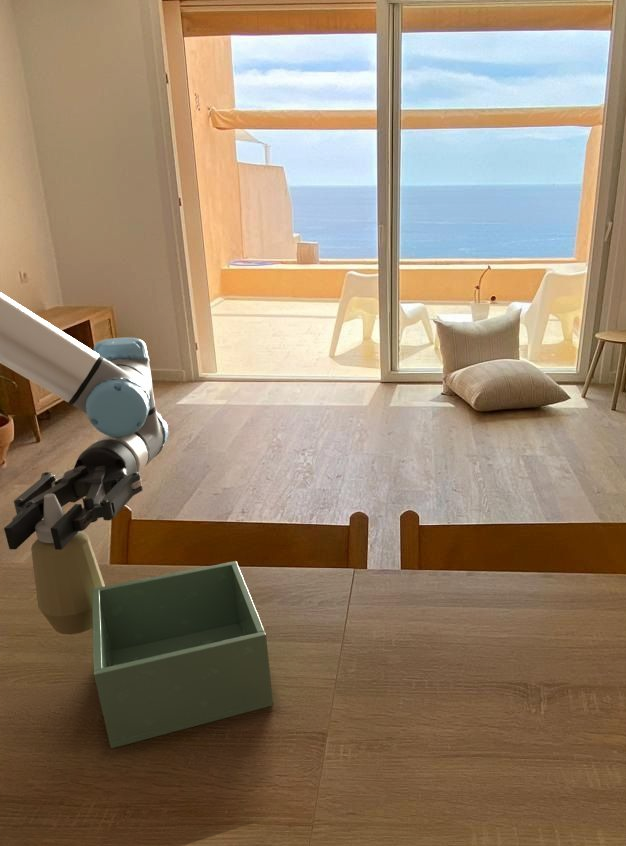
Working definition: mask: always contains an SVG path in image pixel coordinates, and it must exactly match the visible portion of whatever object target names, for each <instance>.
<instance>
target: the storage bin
mask: <svg viewBox="0 0 626 846" xmlns="http://www.w3.org/2000/svg"><path fill="white" fill-rule="evenodd" d="M92 598H93V628H92V647H93V649H92V650H93V652H92V653H93V677H94V681H95V685H96V690H97V694H98V699H99V703H100V708H101V712H102V716H103V719H104V724H105V729H106V733H107V737H108V742H109V746H110V749H114V748H119V747H123V746H126V745H129V744H133V743H134V744H135V743H138V742H141V741H145V740H148V739H153V738H156V737H160V736H164V735H167V734H172V733H175V732H179V731H183V730H187V729H190V728H193V727H196V726H197V727H198V726H201V725H205V724H208V723H212V722H216V721H220V720H224V719H227V718H231V717H235V716H239V715H242V714H246V713H250V712H253V711H257V710H261V709H265V708H268V707H273V706H274V698H273V697H274V696H273V688H272V678H271V669H270V660H269V649H268V639H267V634H266V632H265V629H264V626H263V624H262V621H261V619H260V616H259V613H258V611H257V609H256V606H255V604H254V601H253V599H252V596H251V594H250V591H249V588H248V587H247V584H246V581H245V579H244V577H243V574H242V572H241V569H240V566H239V564H238V561H236V560H234V561H229V562H223V563H219V564H218V563H217V564H213V565H208V566H203V567H199V568H193V569H187V570H183V571H176V572H173V573H167V574H162V575H156V576H152V577H146V578H141V579H137V580H132V581H131V580H130V581H127V582H126V581H125V582H121V583H116V584H111V585H105V587H100V588H94V589H92Z"/></svg>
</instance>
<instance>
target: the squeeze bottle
mask: <svg viewBox="0 0 626 846" xmlns="http://www.w3.org/2000/svg"><path fill="white" fill-rule="evenodd" d="M65 514H66V513H65V511H64V509H63V508H62V507H61V506H60V504H59V502H58V500H57V498H56V496H55V494H52V493H51V494H46V495H45V496H44V518H43V519H42V520H41V521H40V522H38V523H37V524H36V526H35V534H36V539H35V541H34V542H33V543H32V545H31V548H30V551H31V559H32V565H33V566H32V568H33V575H34V584H35V591H36V600H37V607H38V609H39V611H40V612H41V613H42V615H43V616H44V618H45V619H46V621H48V622H49V624H50V625H51V627H52V628H53V629H54V630H55V632H56V633H59V634H62V635H75V634H82V633H84V632H87V631H89V630H92V629H93V598H92V589H94V588H100V587H105V586H106V585H105V581H104V578H103V575H102V572H101V570H100V566H99V563H98V560H97V558H96V555H95V552H94V549H93V545H92V543H91V539H90V536H89V535H88V534H87V533H86V532H84V531H79V532H78V533H77V534H76V535H75V536H74V537H73V538H72V539H71V540H70V541H69V542H68V543H67V545H66V546H65V547H64V548H63V549H62V550H55V546H54V542H53V537H52V533H51V529H50V528H51V527H52V526H53V525H54V524H55V523H56V522H57V521H59V520H60V519H61V518H62V517H63V516H64V515H65Z"/></svg>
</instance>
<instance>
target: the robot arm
mask: <svg viewBox="0 0 626 846" xmlns="http://www.w3.org/2000/svg"><path fill="white" fill-rule="evenodd" d="M150 363H151V360H150V357H149V354H148V349H147V344H146V343H145V341H144V340H142V339H141V338H137V337H114V338H107V339H103V340H99V341H98V342H96V343H95V344H94V346H93V349H91V348H90V347H88V346H87V345H85V344H83V343H82V342H80V341H78V340H77V339H76V338H74V337H72V336H71V335H69V334H67V333H66V332H64V331H63V330H61V329H59V328H58V327H56V326H55V325H53V324H51V323H50V322H48V321H47V320H45V319H44V318H42V317H40V316H39V315H38V314H36V313H34V312H33V311H31V310H30V309H28V308H26V307H25V306H23V305H22V304H20V303H18V302H17V301H16V300H14V299H12V298H10V297H9V296H7V295H6V294H4V293H2V291H0V364H1V365H2V366H5V367H6V368H8V369H10V370H11V371H13V372H14V373H16V374H18V375H19V376H22V377H23V378H25V379H27V380H29V381H30V382H32V383H34V384H35V385H37V386H39V387H40V388H42V389H44V390H46V391H47V392H49V393H51V394H53V395H55V396H56V397H58V398H59V399H61V400H63V401H65V402H66V403H68V404H70V405H71V406H72V407H75V408H77V410H79V411H81V412H83V413H85V414H86V415H87V418H88V420H89V422H90V424H91V425H92V426H93V427H94V428H95V429H96V430H97V431H98V432H100V433H102V435H100V437H99V438H97V439H96V440H94V442H93V443H92V444H90V445H89V446H88V447H87V448H86V449H85V450H84V451H82V452H81V453H80V454H79V456H78V457H77V458H76V462H75V465H74V467H73V468H72V469H69V470H67V471H65V472H64V474H63V475H59V476H58V475H57V476H56V475H55V474H52V472H51V471H45V472H42V473H41V475H40V477H39V479H38V480H37V481H35V482H34V483H33V484H32V485H31V486H30V487H29V488H27V489H26V490H25V491H23V492H22V493H21V494H20V495H19V496H17V498H15V499H14V500H13V505H14V509H15V513H16V515H15V516H14V517H12V520H11V521H10V522H9V523H8V524H7V525H6V526H5V527H4V528H3V530H4V534H5V538H6V542H7V546H8V549H9V550H17V549H19V547H20V546H21V545H22V544H23V543H24V542H25V541H27V540H28V539H29V538H30V537H31V536H32V535H33V534H35V533H36V531H35V526H36V524H37V523H38V522H40V521H41V520H44V496H45V495H46V494H51V493H52V494H55V496H56V498H57V500H58V502H59V504H60V506H61V508H62V507H64V506H65V505H67V504H68V503H75V504H74V505H73V506H72V507H71V508H70V509H68V511H66V512H65V513H64V514H65V515H64V516H63V517H62V518H61V519H60V520H59V521H57V522H56V523H55V524H54V525H53V526H52V527H51V528H50V529H51V533H52V537H53V542H54V546H55V550H62V549H63V548H64V547H65V546H66V545H67V543H68V542H69V541H70V540H71V539H72V538H73V537H74V536H75V535H76V534H77V533H78V532H79V531H82V532H84V531H85V530H86V529H87V528H88V527H89V526H90V524H93V523H96V522H97V521H98V520H99V519H102V518H103V521H111V520H113V519H114V518H116V516H117V515H118V514H119V513H120V511H122V509H124V507H125V506H126V505H127V504H128V502H129V501H130V500H132V498H133V497H134V496H135V495H137V494H139V493H141V492H142V491H143V490H144V489H143V483H142V477H141V472H142V471H143V470H144V469H145V468H146V467H147V465H148V464H150V462H152V461H153V460H154V458H155V457H157V456H158V455H159V454H160V453H161V451H163V447H164V446H165V444H166V443H167V441H168V437H169V427H168V424H167V422H166V420H165V419H164V418H163V416H162V415H161V414H160V413H159V412H158V410H157V406H156V401H155V395H154V386H153V377H152V372H151V364H150ZM81 499H82V503H77V502H78V501H80V500H81Z"/></svg>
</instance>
